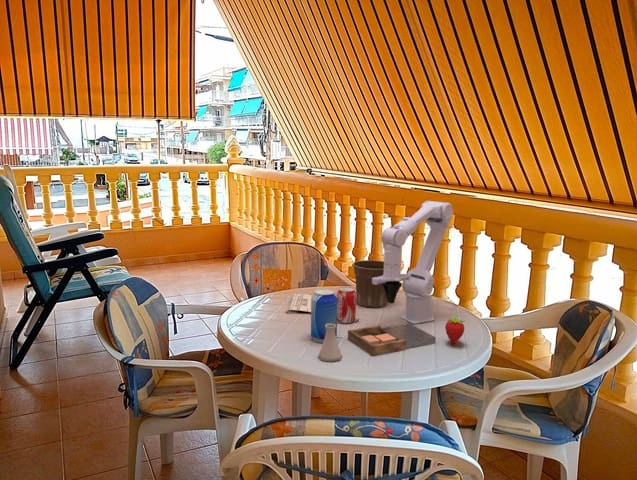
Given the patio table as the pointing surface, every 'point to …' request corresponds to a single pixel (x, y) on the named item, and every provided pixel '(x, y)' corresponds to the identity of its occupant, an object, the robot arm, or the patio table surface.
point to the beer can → (323, 313)
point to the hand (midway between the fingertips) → (390, 302)
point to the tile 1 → (371, 339)
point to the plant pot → (369, 283)
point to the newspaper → (298, 303)
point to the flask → (330, 345)
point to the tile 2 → (385, 338)
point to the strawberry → (454, 329)
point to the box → (372, 349)
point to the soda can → (346, 305)
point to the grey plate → (409, 335)
